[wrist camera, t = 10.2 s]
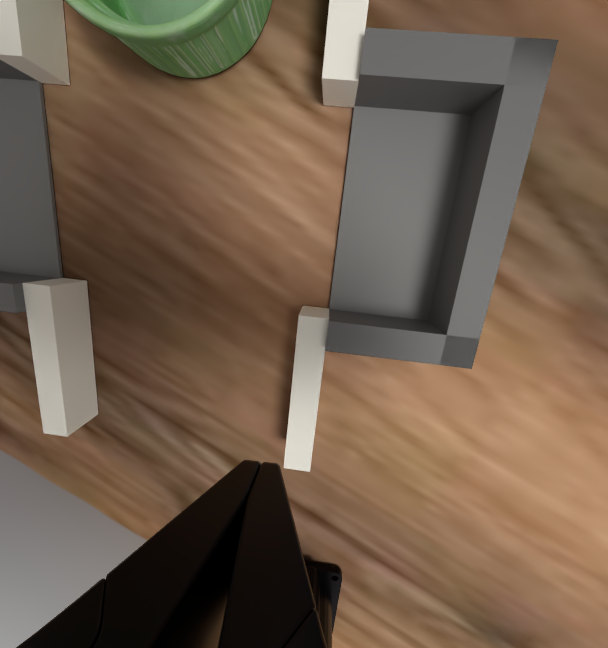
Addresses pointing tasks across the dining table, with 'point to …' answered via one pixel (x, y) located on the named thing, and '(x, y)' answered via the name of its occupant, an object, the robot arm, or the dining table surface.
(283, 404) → the dining table surface
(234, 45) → the ramekin
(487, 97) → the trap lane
